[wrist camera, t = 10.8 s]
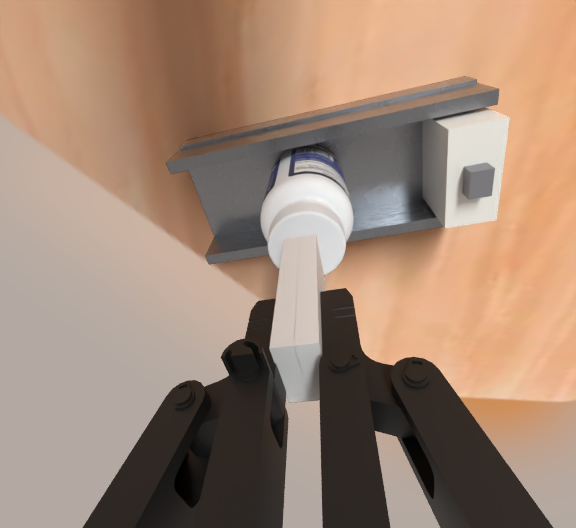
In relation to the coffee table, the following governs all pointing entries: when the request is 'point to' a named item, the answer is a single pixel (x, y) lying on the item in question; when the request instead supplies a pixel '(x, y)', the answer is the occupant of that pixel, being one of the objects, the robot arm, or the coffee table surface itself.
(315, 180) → the pill bottle
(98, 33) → the coffee table surface
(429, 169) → the mounted module
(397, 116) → the rail
